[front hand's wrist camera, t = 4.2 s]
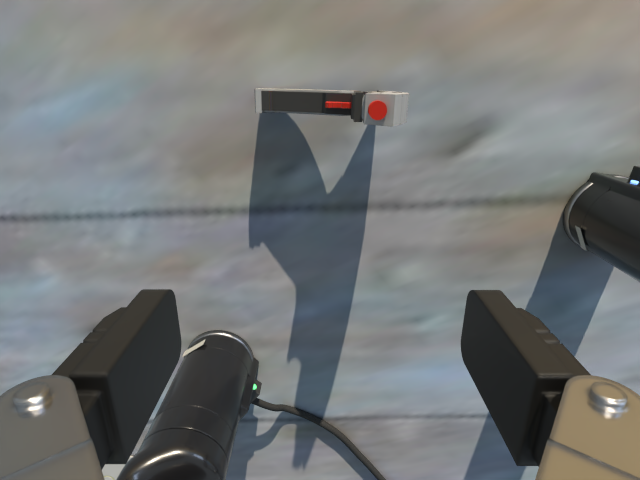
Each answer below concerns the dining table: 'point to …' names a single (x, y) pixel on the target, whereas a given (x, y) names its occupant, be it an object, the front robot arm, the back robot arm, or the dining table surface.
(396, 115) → the toy gun
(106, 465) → the invitation card
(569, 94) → the dining table surface
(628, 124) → the dining table surface
